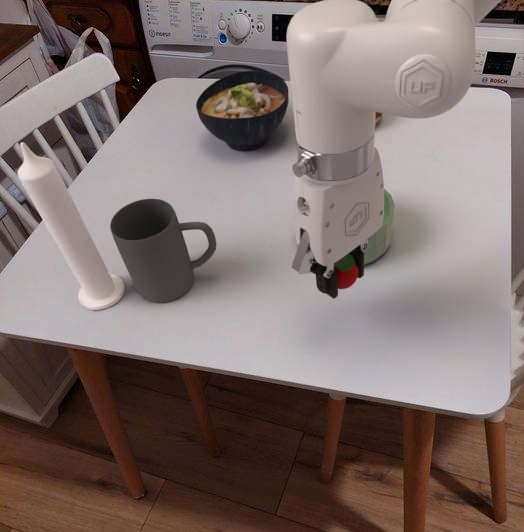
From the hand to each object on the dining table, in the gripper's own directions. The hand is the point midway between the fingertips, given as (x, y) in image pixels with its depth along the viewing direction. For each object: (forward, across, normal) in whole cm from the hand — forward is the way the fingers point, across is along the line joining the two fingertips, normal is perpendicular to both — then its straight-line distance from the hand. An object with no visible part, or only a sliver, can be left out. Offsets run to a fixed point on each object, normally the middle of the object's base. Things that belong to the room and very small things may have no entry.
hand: (340, 281), depth 65 cm
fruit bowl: (+7, +12, +11) cm, 17 cm away
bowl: (+6, +21, +45) cm, 50 cm away
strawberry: (0, 0, 0) cm, 0 cm away
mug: (+6, -11, +23) cm, 26 cm away
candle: (+6, -21, +30) cm, 37 cm away
